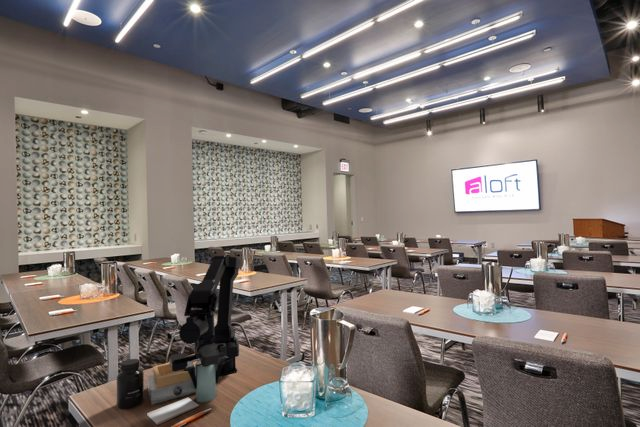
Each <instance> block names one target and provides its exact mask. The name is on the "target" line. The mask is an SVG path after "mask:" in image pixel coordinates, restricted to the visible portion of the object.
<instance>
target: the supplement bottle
mask: <svg viewBox="0 0 640 427" xmlns="http://www.w3.org/2000/svg"><path fill="white" fill-rule="evenodd" d="M140 367H141V364H140V359H138V358H130V359H126V360H123V361H122V362H120V372H118V374H117V375H116V407H117V408H118V409H119V410H132V409H134V408H137V407H139V406H141V405H142V403H144V398H145V395H144V394H145V393H144V390H145V389H144V388H145V387H144V386H145V385H144V384H145V382H144V380H145V379H144V377H145V376H144V370H143V369H142V368H140Z"/></svg>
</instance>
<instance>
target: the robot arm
mask: <svg viewBox="0 0 640 427" xmlns="http://www.w3.org/2000/svg"><path fill="white" fill-rule="evenodd" d="M210 260H211V262H210V264H209V267H208V268H207V270H206V273H205V275H204V277H203V278H202V281H201V282H199V283H197V284H196V285H195V286H194V287H193V288H192V290H191V291H190V293H189V295H188V297H187V302H186V306H185V311H184V313H183V316H184V317H186V319H185V323H183V324H182V325H181V326H180V328H179V331H178V332H179V333H178V336H179V338H180V340H181V341H182V342H183V343H184V344H188V345H192V344H193V346H194V347H193V350H194V351H193V352H194V354H190V355H186V354H185V352H180V353H175V354H171V356H170V357H169V360H168V361H169V362H168V363H170V367H171V369H172V371H179V370H183V371H188V373H189V375H190V377H191V380H192V382H193V385H194V388H195V389H196V388H197V383H196V376H195V367H194V366H195V364H194V362H197V361H199V360H200V361H201V365H202V366H203V367H207V366H209V365H213V364H215V376H216V384H218V381H219V377H221V376H225V375H228V374H232V373H236V372H238V369H237V367H236V357H237V358H238V357H239V356H240V343H239V341H238V339H237V337H236V331H235V329H234V327H233V325H232V311H233V310H232V308H233V295H234V294H233V290H234V289H233V288H234V281H235V280H236V278H237V277H238V275H239V271H240V269H241V260H240V259H239V258H238V257H237V256H236V255H235V256H228V255H226V254H217V255H213V256H211V259H210ZM218 286H219V289H218ZM217 289H218V291H217ZM216 311H217V318H216V324H215V312H216ZM193 364H194V365H193Z"/></svg>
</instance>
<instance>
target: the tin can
mask: <svg viewBox="0 0 640 427" xmlns="http://www.w3.org/2000/svg"><path fill="white" fill-rule="evenodd" d="M195 362H196V363H195V364H194V366H195V371H196V383H197V388H196V393H195V396H196V397H195V398H196V401H197V402H198V403H209V402H210V401H213V400H214V399H216V397H217V386H216V384H217V383H216V376H215V364H213V365H209V366H207V367H203V366H202V365H201V361H200V360H199V361H195Z"/></svg>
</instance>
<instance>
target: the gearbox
mask: <svg viewBox="0 0 640 427" xmlns="http://www.w3.org/2000/svg"><path fill="white" fill-rule="evenodd" d="M193 365H194V367H195V364H194V363H193ZM152 368H153V370H152V372H153V373H151V374H147V375H146V384H147V385H146V386H147V391H148V396H149V400H150V404H151V405H155V404H158V403H163V402H167V401H169V400H173V399H177V398H181V397H184V396H188V395H191V394H192V395H193V394H196V389H195V388H194V385H193V382H192V380H191V377H190V375H189V373H188V371H183V370H179V371H172V369H171V367H170V363H169V362H167V363H164V364H159V365H154V366H153V367H152ZM195 376H196V371H195Z"/></svg>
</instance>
